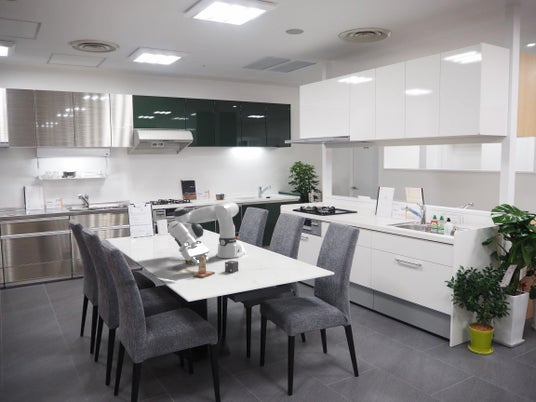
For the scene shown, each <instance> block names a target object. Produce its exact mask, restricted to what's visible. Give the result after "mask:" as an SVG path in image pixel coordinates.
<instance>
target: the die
mask: <svg viewBox="0 0 536 402" xmlns="http://www.w3.org/2000/svg"><path fill="white" fill-rule="evenodd" d="M238 271H239V261H237V260H228V261H225V262H224V272H225V273H232V274H233V273H236V272H238Z"/></svg>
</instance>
